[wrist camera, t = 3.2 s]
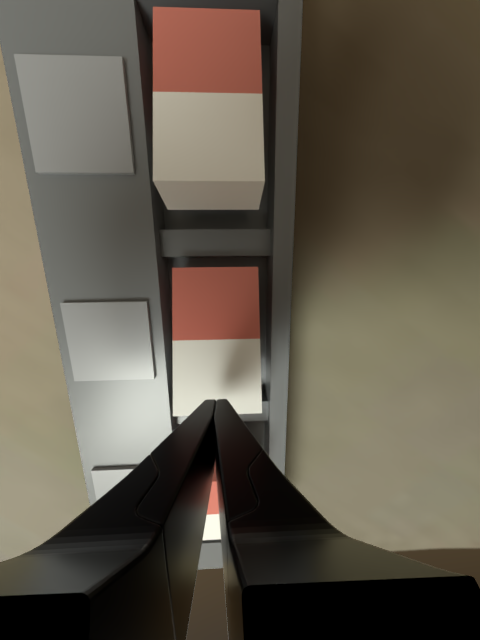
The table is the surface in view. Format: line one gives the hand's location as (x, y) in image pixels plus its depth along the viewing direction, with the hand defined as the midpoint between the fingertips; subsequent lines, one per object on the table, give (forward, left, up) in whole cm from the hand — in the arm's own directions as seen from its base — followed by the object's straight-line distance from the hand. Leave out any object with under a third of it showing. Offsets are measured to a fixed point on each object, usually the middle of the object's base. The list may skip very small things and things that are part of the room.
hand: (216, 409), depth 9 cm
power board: (+2, -2, -7) cm, 7 cm away
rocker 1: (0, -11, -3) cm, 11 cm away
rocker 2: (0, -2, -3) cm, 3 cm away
